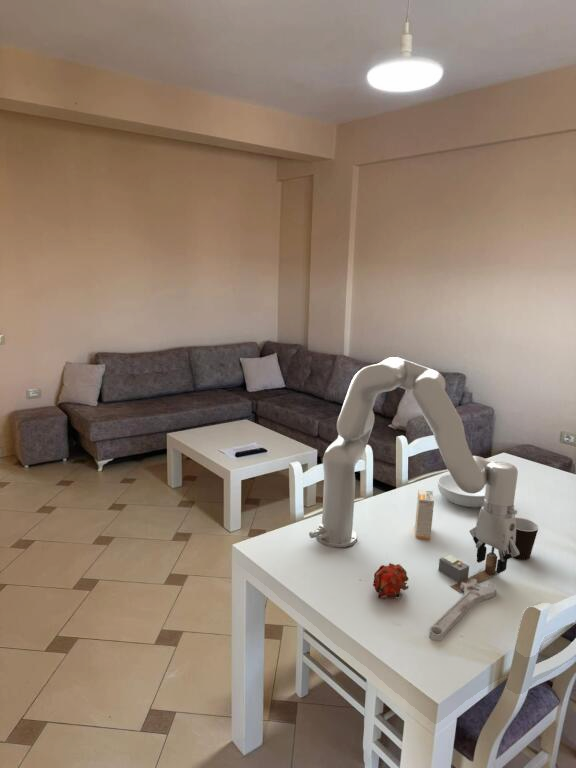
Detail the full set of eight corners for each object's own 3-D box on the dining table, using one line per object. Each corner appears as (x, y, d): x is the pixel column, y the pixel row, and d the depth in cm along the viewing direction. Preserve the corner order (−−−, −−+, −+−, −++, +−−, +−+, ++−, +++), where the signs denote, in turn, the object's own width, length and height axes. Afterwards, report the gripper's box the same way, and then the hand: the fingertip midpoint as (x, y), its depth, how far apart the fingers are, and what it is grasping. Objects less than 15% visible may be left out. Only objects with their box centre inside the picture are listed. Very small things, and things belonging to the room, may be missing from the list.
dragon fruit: (404, 589, 146) (380, 615, 138) (381, 564, 149) (357, 588, 140) (421, 575, 141) (397, 601, 132) (398, 549, 143) (373, 574, 135)
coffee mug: (531, 565, 157) (536, 534, 154) (500, 556, 161) (504, 525, 159) (537, 548, 166) (541, 518, 164) (507, 540, 171) (511, 511, 168)
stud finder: (458, 583, 147) (460, 568, 146) (438, 571, 153) (439, 556, 152) (467, 579, 149) (469, 564, 148) (447, 567, 155) (449, 552, 154)
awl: (491, 576, 150) (494, 551, 149) (482, 571, 152) (485, 547, 151) (497, 572, 152) (500, 548, 150) (488, 568, 154) (491, 544, 152)
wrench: (417, 624, 126) (470, 572, 148) (416, 631, 127) (469, 578, 149) (449, 641, 121) (499, 585, 143) (448, 648, 122) (498, 591, 144)
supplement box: (430, 539, 169) (434, 501, 166) (415, 537, 170) (418, 499, 167) (429, 527, 177) (433, 490, 174) (414, 525, 178) (418, 488, 175)
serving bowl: (500, 498, 201) (503, 481, 200) (487, 520, 184) (490, 501, 183) (445, 485, 212) (447, 468, 211) (428, 504, 195) (430, 486, 193)
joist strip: (459, 592, 143) (459, 591, 143) (450, 586, 145) (450, 586, 145) (498, 573, 152) (498, 572, 152) (489, 568, 155) (489, 567, 154)
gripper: (535, 516, 143) (526, 577, 147) (479, 492, 157) (473, 549, 161) (518, 523, 139) (510, 585, 143) (463, 498, 152) (456, 556, 156)
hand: (490, 565), depth 152 cm, fingers open, 5 cm apart
